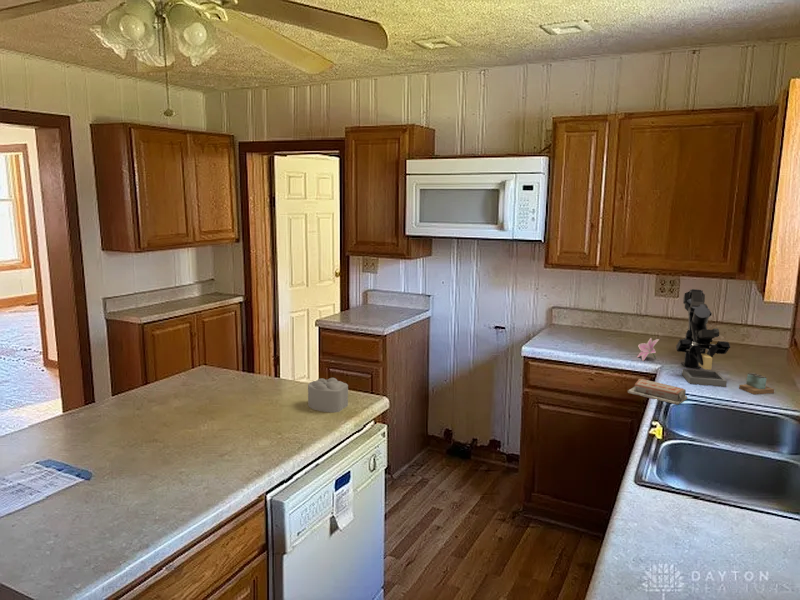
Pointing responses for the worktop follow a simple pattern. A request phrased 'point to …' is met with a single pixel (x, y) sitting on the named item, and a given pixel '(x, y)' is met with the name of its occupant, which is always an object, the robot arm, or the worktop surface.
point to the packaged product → (659, 391)
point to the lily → (647, 348)
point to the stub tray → (704, 377)
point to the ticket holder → (756, 384)
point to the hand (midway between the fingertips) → (706, 365)
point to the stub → (706, 362)
